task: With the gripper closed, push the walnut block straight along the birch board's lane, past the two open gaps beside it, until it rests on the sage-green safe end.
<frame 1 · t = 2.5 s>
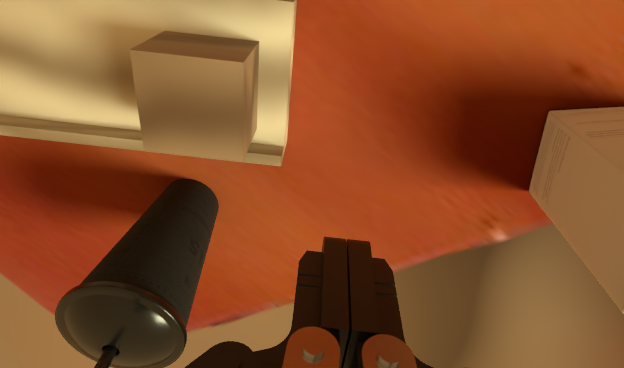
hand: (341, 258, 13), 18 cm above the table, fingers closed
supplement box: (584, 150, 31), on the table
drinking cup: (192, 201, 35), on the table
walnut block: (213, 82, 27), point 2 cm above the table, touching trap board
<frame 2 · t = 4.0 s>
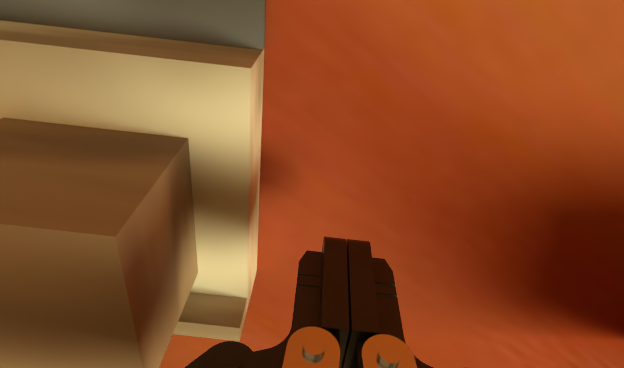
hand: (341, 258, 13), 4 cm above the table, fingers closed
walnut block: (111, 203, 14), point 2 cm above the table, touching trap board
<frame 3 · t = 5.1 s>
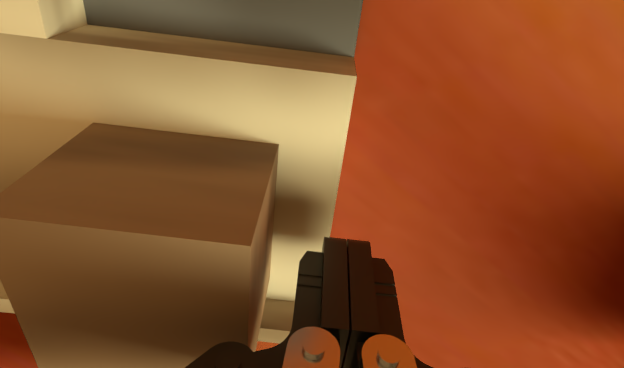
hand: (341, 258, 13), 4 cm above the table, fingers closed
walnut block: (191, 208, 14), point 3 cm above the table, touching gripper
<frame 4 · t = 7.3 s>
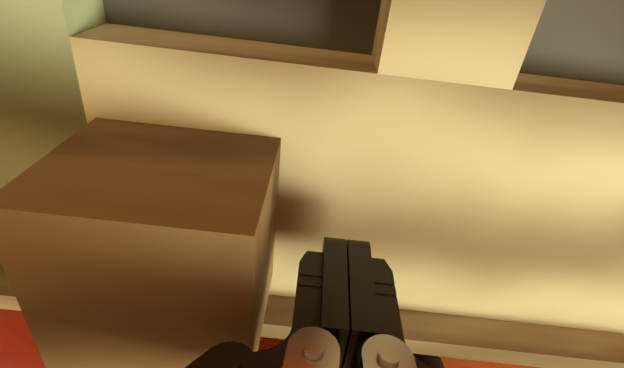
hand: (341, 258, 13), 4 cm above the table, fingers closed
drinking cup: (400, 366, 23), on the table
walnut block: (194, 203, 14), point 2 cm above the table, touching gripper, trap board
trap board: (308, 88, 14), on the table
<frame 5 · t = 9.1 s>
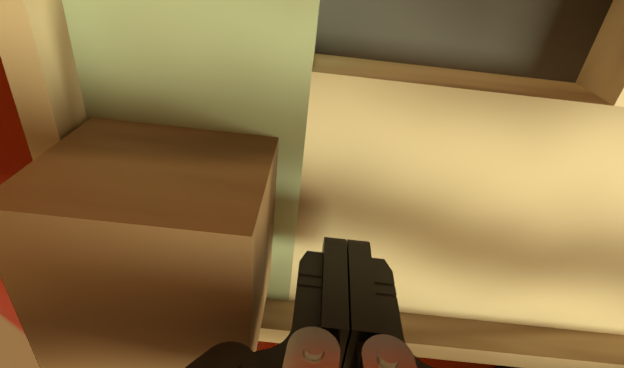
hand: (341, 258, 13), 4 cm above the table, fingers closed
walnut block: (191, 204, 14), point 2 cm above the table, touching gripper, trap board
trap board: (499, 114, 15), on the table
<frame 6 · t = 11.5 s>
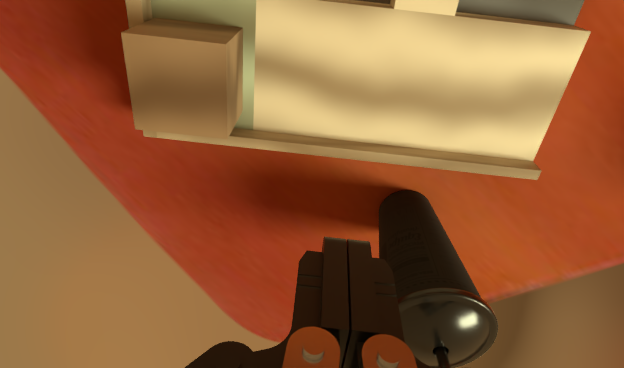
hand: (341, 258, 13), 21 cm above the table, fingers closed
drinking cup: (404, 210, 37), on the table
walnut block: (201, 67, 28), point 2 cm above the table, touching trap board
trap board: (357, 22, 29), on the table
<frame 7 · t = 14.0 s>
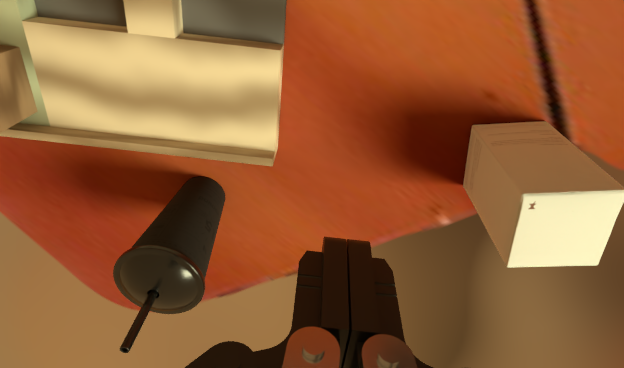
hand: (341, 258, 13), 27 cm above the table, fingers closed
supplement box: (502, 154, 41), on the table
drinking cup: (204, 193, 45), on the table
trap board: (120, 42, 37), on the table
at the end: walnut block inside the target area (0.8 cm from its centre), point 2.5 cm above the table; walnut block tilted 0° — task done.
